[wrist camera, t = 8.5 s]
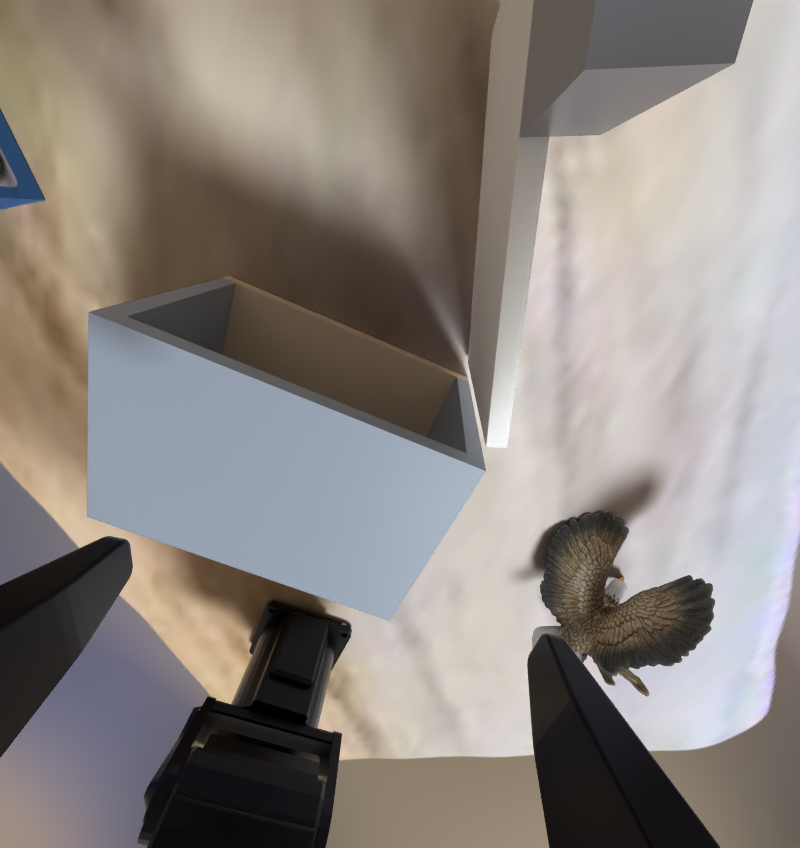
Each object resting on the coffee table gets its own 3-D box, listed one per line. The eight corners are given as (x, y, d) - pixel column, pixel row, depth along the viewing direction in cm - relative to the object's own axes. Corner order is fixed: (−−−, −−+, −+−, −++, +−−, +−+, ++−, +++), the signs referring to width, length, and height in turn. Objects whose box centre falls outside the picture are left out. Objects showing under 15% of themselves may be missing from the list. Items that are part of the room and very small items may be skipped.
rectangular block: (467, 362, 18) (508, 548, 8) (491, 34, 13) (713, -728, 3) (502, 363, 18) (590, 552, 8) (540, 31, 13) (984, -782, 2)
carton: (404, 495, 22) (389, 621, 15) (203, 418, 21) (87, 516, 14) (467, 377, 19) (486, 471, 12) (229, 275, 18) (88, 312, 10)
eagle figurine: (662, 637, 25) (732, 556, 19) (635, 751, 20) (716, 690, 15) (545, 571, 28) (575, 488, 23) (501, 656, 24) (525, 578, 18)
